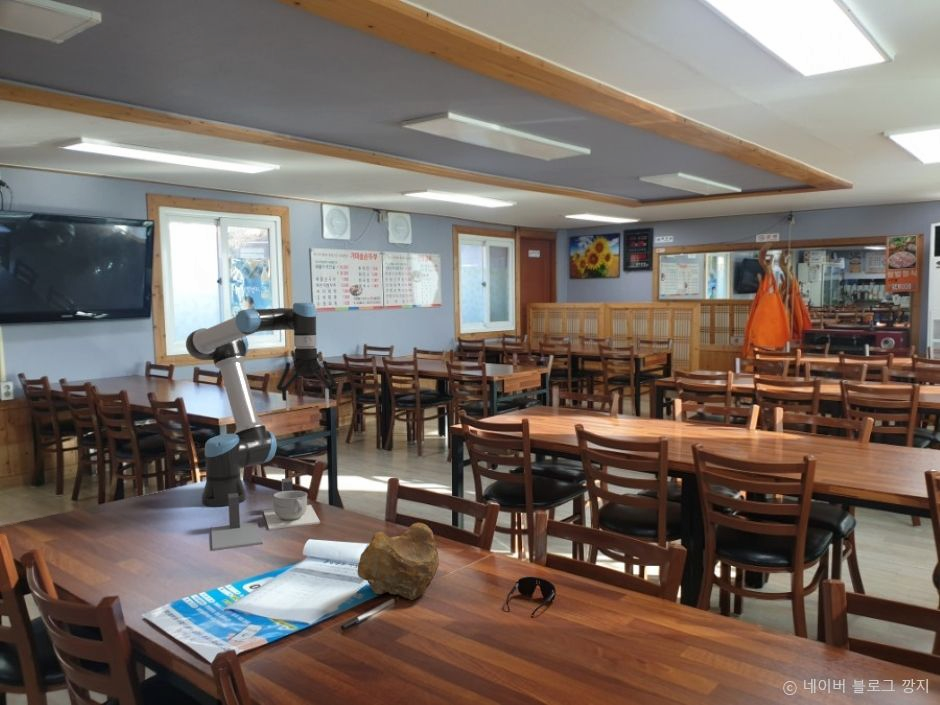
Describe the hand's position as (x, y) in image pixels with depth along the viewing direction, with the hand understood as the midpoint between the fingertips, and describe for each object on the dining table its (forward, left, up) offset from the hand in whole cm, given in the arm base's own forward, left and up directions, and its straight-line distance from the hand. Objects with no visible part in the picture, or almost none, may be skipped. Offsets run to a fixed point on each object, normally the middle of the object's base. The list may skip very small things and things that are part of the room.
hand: (307, 408), depth 243 cm
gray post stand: (+22, -26, -35) cm, 49 cm away
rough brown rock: (+80, +12, -35) cm, 88 cm away
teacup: (+13, -8, -34) cm, 38 cm away
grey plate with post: (+10, -8, -35) cm, 37 cm away
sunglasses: (+99, +37, -35) cm, 112 cm away
